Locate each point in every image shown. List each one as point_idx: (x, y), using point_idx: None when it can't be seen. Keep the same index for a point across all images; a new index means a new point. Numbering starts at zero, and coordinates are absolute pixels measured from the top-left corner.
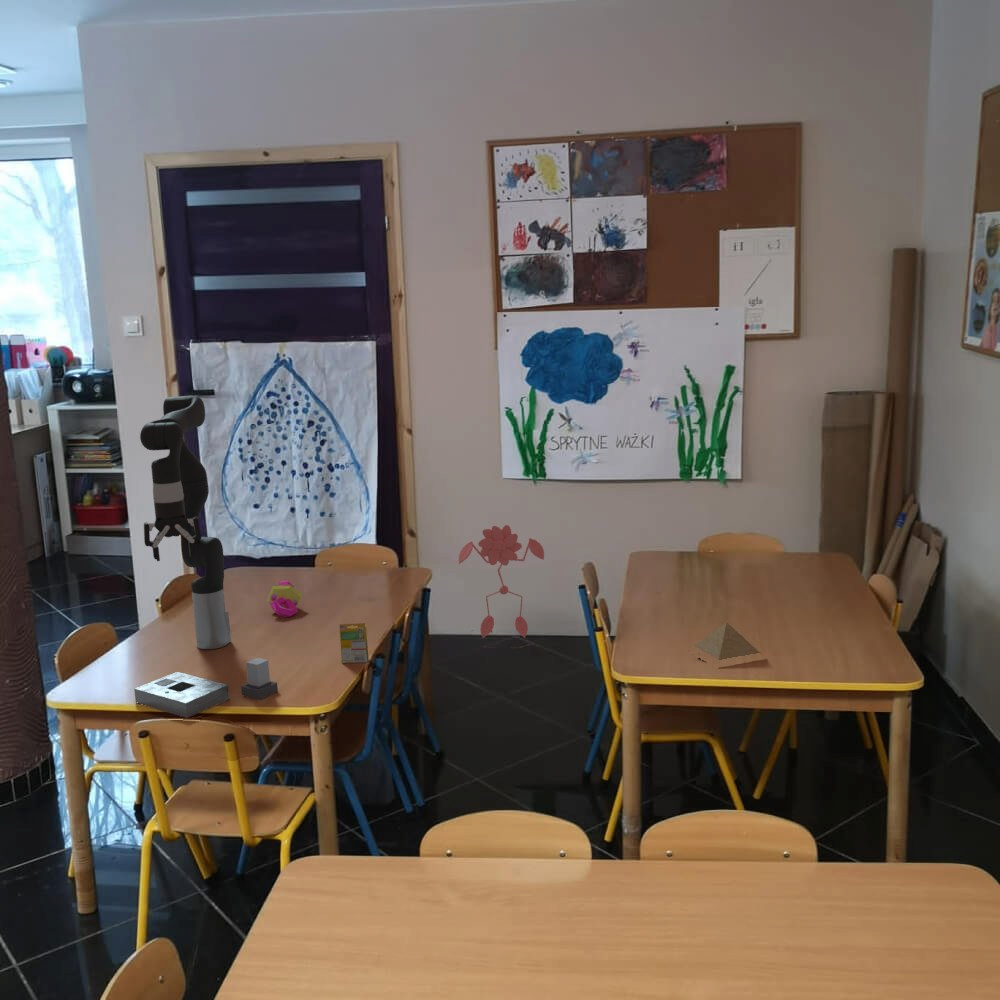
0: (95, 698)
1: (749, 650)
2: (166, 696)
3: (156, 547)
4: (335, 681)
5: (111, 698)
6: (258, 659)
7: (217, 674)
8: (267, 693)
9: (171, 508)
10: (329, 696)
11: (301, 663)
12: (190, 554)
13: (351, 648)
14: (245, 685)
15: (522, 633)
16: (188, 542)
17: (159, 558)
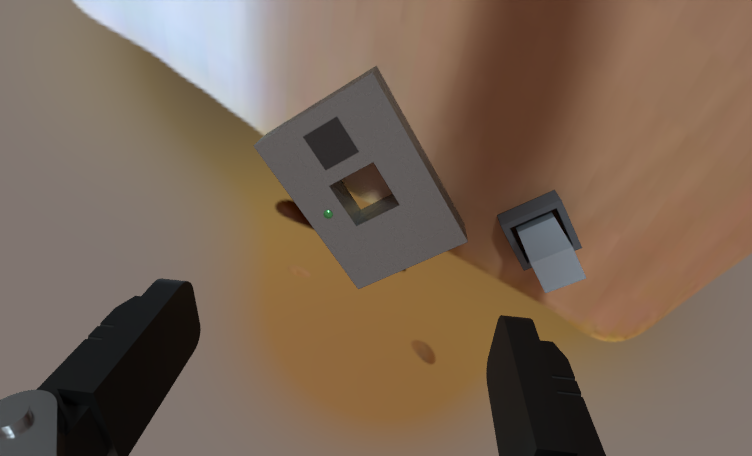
0: (165, 42)
1: None
2: (324, 235)
3: (92, 452)
4: (716, 247)
5: (206, 66)
6: (567, 260)
7: (496, 28)
8: None
9: None
10: (648, 311)
11: (745, 71)
12: (489, 393)
13: None
14: (511, 226)
15: None
16: (533, 446)
17: (187, 358)
